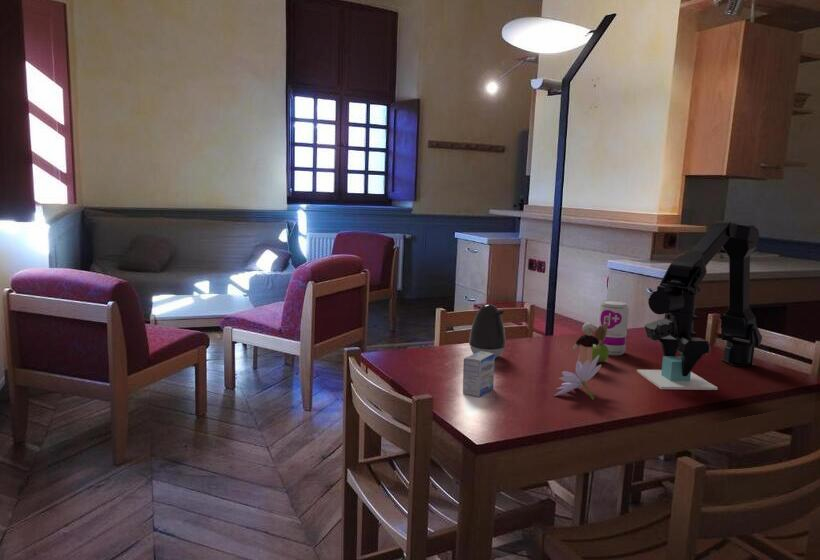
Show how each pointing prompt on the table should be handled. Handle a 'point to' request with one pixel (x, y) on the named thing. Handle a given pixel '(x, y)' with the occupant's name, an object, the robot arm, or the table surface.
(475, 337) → the penguin figurine
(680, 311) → the robot arm
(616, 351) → the supplement can
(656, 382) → the tile
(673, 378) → the cube
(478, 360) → the medicine box
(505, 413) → the table surface
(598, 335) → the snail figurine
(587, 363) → the water lily
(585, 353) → the grandmother figurine
